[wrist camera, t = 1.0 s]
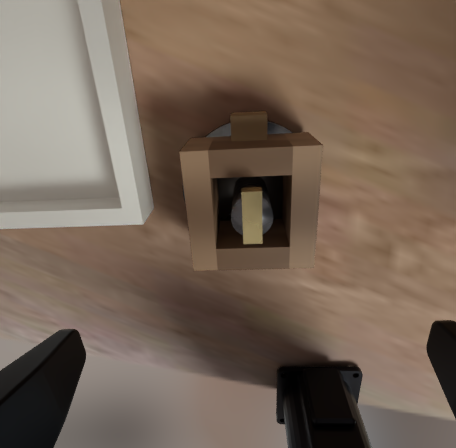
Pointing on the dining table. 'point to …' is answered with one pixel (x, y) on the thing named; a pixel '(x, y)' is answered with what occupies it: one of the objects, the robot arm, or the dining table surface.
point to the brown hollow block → (251, 167)
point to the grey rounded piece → (250, 196)
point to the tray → (69, 118)
